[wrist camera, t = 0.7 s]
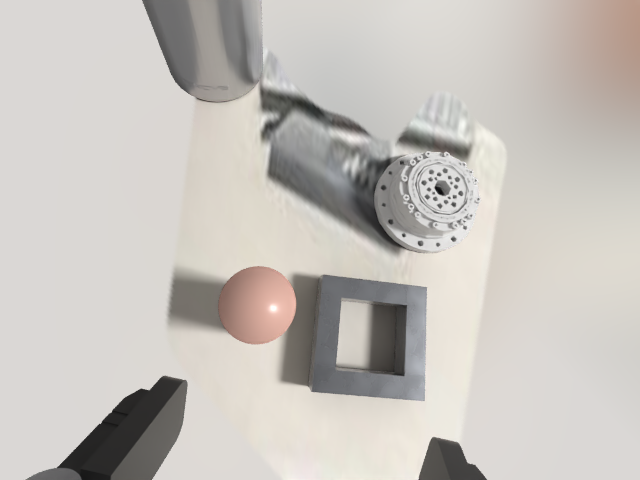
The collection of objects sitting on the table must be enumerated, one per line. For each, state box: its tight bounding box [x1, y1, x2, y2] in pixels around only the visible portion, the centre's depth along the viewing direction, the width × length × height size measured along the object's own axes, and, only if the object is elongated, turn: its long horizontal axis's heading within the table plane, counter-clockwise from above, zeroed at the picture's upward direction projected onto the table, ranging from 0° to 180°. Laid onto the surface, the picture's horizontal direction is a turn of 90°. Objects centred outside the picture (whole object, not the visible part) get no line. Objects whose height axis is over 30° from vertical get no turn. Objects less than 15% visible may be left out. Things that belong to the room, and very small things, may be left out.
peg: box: [218, 266, 296, 344], centre depth 24 cm, size 4×4×12 cm
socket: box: [308, 275, 427, 401], centre depth 29 cm, size 9×9×2 cm
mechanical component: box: [374, 151, 481, 253], centre depth 32 cm, size 10×4×10 cm
